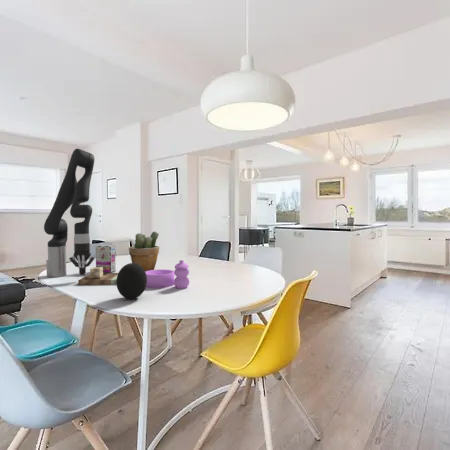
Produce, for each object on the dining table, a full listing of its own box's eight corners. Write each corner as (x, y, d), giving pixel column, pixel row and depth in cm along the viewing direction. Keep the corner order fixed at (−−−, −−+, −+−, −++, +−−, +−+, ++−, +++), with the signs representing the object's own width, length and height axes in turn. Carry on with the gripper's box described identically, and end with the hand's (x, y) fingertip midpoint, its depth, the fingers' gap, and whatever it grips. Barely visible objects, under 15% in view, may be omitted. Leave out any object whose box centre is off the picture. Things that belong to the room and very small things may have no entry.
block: (90, 277, 159) (90, 268, 159) (93, 275, 164) (93, 267, 164) (100, 277, 159) (99, 268, 159) (103, 275, 164) (102, 267, 164)
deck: (78, 285, 152) (78, 275, 152) (91, 277, 170) (91, 268, 170) (127, 284, 154) (126, 274, 154) (134, 276, 172) (134, 268, 172)
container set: (137, 286, 150) (136, 259, 150) (156, 280, 164) (156, 256, 164) (179, 291, 140) (179, 263, 139) (196, 284, 153) (196, 259, 153)
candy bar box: (116, 271, 189) (115, 245, 189) (110, 272, 184) (110, 246, 184) (101, 270, 192) (100, 244, 192) (95, 271, 188) (95, 245, 187)
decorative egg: (110, 299, 126) (109, 263, 126) (134, 293, 137) (133, 260, 136) (129, 304, 119) (129, 266, 119) (153, 297, 130) (152, 262, 129)
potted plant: (141, 276, 174) (140, 233, 174) (122, 272, 186) (121, 231, 185) (165, 271, 189) (165, 231, 188) (146, 268, 200) (146, 230, 199)
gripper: (65, 243, 156) (66, 276, 157) (92, 242, 157) (92, 275, 158) (72, 241, 164) (72, 273, 164) (97, 241, 165) (97, 273, 165)
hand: (82, 274), depth 161 cm, fingers closed
